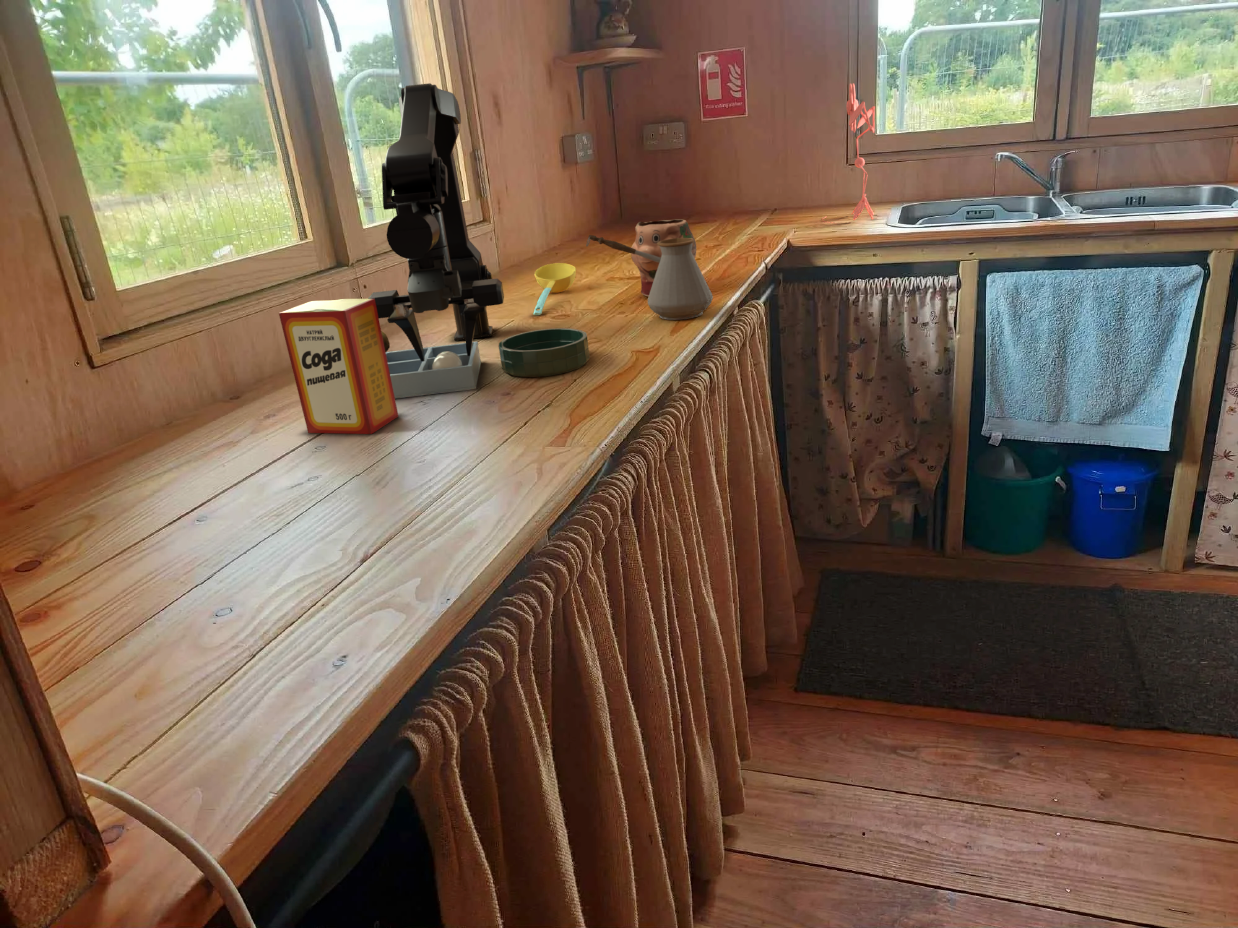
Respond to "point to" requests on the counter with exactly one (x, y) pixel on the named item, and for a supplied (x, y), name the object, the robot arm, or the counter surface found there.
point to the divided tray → (432, 371)
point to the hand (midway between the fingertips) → (446, 358)
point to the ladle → (553, 281)
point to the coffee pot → (673, 279)
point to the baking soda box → (340, 365)
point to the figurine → (854, 112)
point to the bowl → (544, 352)
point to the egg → (447, 360)
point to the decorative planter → (656, 246)
